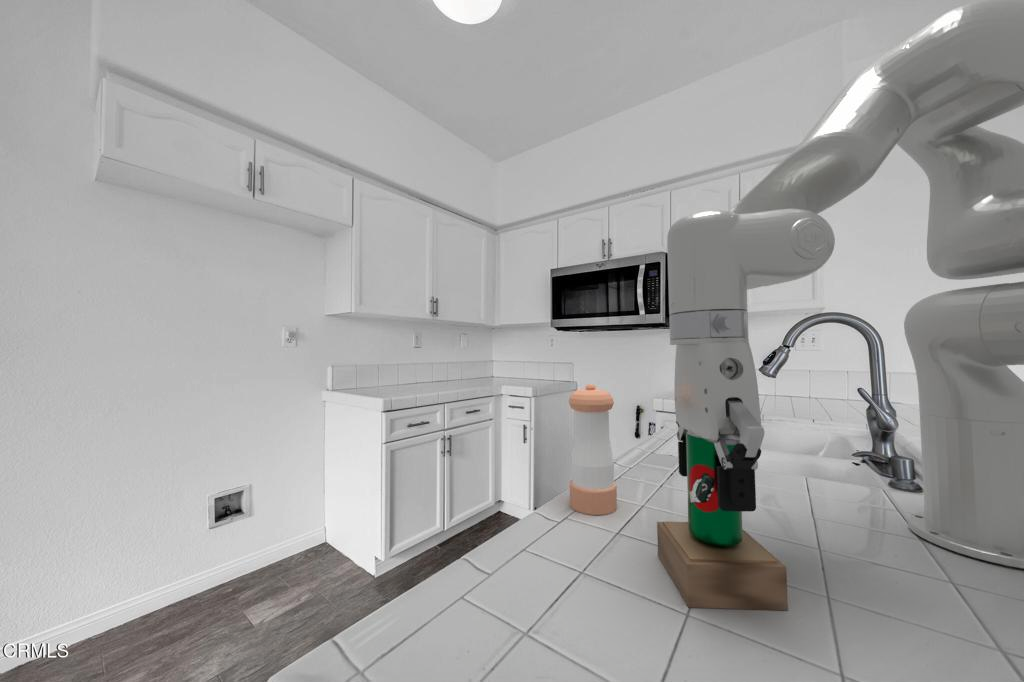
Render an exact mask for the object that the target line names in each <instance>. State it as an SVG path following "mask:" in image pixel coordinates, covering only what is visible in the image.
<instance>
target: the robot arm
mask: <svg viewBox="0 0 1024 682" xmlns="http://www.w3.org/2000/svg"><path fill="white" fill-rule="evenodd" d="M1023 106H1024V0H979V1H974V2H970V3H967V4H963V5H961V6H958V7H955V8H953V9H952V10H949V11H948V12H947V11H946V12H945V13H944V14H942V15H940V16H939V17H937V18H936V19H934V20H933V21H931V22H930V23H929V24H926V26H925V27H923V28H922V29H920V30H919V31H917V32H915V33H913V34H912V35H911V36H909V37H908V38H907V39H905V40H904V41H902V42H901V43H899V44H898V45H896V46H895V47H893V48H892V49H891V50H889V51H888V52H886V53H884V54H883V55H882V56H880V57H879V58H878V59H876V60H874V61H873V62H871V63H870V64H868V65H867V66H866V67H864V68H863V69H862V70H861V71H859V73H857V74H855V76H853V78H851V80H849V81H848V83H847V84H846V85H845V86H844V87H843V88H842V90H840V92H839V93H838V95H837V96H836V98H834V100H833V101H832V102H831V103H830V105H829V106H828V107H827V109H826V110H825V111H824V113H823V115H821V117H819V119H818V121H816V123H815V125H814V126H813V127H812V128H811V130H809V132H807V134H806V136H805V137H804V138H803V139H802V141H801V142H800V143H799V144H798V146H797V147H795V149H793V151H792V152H790V154H789V155H787V156H786V157H785V158H783V159H782V161H780V162H779V163H778V164H777V165H776V166H775V167H774V168H773V169H772V170H771V171H770V172H769V173H768V174H767V175H766V176H765V177H764V178H763V179H761V180H760V182H758V183H757V184H756V185H755V186H754V187H753V188H752V189H751V190H749V191H748V192H747V193H746V194H745V195H744V196H743V197H742V198H741V199H740V200H739V201H738V202H737V203H736V204H735V205H734V206H733V207H732V208H731V209H730V210H706V211H701V212H699V211H698V212H696V213H693V214H692V213H691V214H689V215H686V216H684V217H683V216H682V218H679V219H678V220H676V221H675V222H674V223H673V224H672V225H671V226H670V228H669V229H668V232H667V236H666V237H667V239H666V241H667V243H666V244H667V245H666V246H667V247H666V248H667V251H666V252H667V280H668V283H667V284H668V285H667V286H668V314H669V318H668V319H669V345H672V346H676V347H675V360H674V361H675V362H674V363H675V364H674V410H675V411H674V413H675V420H676V421H675V424H676V425H677V433H676V438H677V451H678V473H679V475H680V476H682V477H687V449H686V433H687V431H688V430H691V431H692V432H693V433H694V434H696V435H698V436H699V437H701V438H703V439H704V440H706V441H709V442H712V443H714V446H715V448H716V451H717V454H718V457H719V460H720V463H721V465H722V466H717V495H718V507H719V508H720V509H721V510H723V511H742V512H754V511H756V509H757V494H756V470H757V469H758V467H759V462H758V459H760V457H761V454H762V449H761V447H762V444H763V440H764V437H765V429H764V427H763V425H762V419H761V418H762V417H761V415H762V414H761V406H760V397H759V396H760V394H759V388H758V387H759V385H758V378H757V373H756V372H757V371H756V366H755V361H754V357H753V352H752V348H751V345H750V342H749V341H750V340H749V339H750V338H749V318H748V316H749V315H748V314H749V312H748V290H753V289H758V288H761V287H770V286H774V285H779V284H784V283H789V282H792V281H797V280H800V279H802V278H805V277H807V276H810V275H811V274H813V273H815V272H817V271H818V270H820V269H821V268H822V267H824V265H825V264H826V263H827V262H828V261H829V260H830V258H831V256H832V254H833V252H834V249H835V246H836V245H835V243H836V238H835V233H834V231H833V228H832V226H831V225H830V224H829V222H828V220H826V219H825V218H824V217H822V216H821V215H820V213H822V212H824V211H826V210H827V209H829V208H831V207H833V206H835V205H836V204H837V203H839V202H841V201H843V200H844V199H845V198H847V197H848V196H850V195H851V194H853V193H855V191H857V190H859V189H860V188H861V187H863V186H864V185H865V184H867V183H868V182H869V181H870V179H872V178H873V176H875V174H876V173H877V171H878V170H879V168H881V165H882V164H883V163H884V162H885V160H886V158H887V157H889V154H890V153H891V152H892V150H893V149H894V148H895V147H896V145H897V146H898V147H899V148H900V149H902V151H904V152H905V153H906V154H907V155H908V156H909V157H910V158H911V159H913V161H914V162H915V163H917V165H918V166H919V167H920V168H921V169H922V170H923V172H924V173H925V175H926V177H927V180H928V183H929V205H928V222H927V236H926V260H927V261H926V262H927V265H928V267H929V269H930V270H931V272H932V273H933V274H935V275H937V277H940V278H943V279H946V280H959V281H961V280H962V281H963V280H964V281H965V280H975V279H984V278H992V277H993V278H994V277H1001V276H1008V275H1016V274H1022V273H1024V143H1023V142H1022V141H1019V140H1018V139H1015V138H1012V137H1010V136H1006V135H1004V134H1000V133H997V132H993V131H990V130H987V129H985V128H983V127H982V126H979V125H981V124H983V123H985V122H988V121H990V120H993V119H996V118H997V117H999V116H1001V115H1004V114H1007V113H1010V112H1011V111H1014V110H1016V109H1018V108H1021V107H1023ZM903 330H904V336H905V339H906V343H907V345H908V348H909V351H910V354H911V357H912V360H913V364H914V370H915V375H916V381H917V390H918V406H919V426H920V428H919V429H920V447H921V464H922V465H921V466H922V467H921V468H922V484H923V487H922V488H923V489H922V490H923V503H924V504H923V505H924V507H923V508H924V512H919V513H914V514H911V515H909V516H908V518H907V525H908V528H909V529H910V531H912V532H913V533H914V534H915V535H917V536H919V537H921V539H924V540H925V541H928V542H930V543H931V544H935V545H937V546H939V547H941V548H944V549H947V550H949V551H952V552H954V553H957V554H960V555H964V556H968V557H971V558H974V559H977V560H981V561H984V562H989V563H992V564H993V563H994V564H997V565H1000V566H1001V565H1002V566H1005V567H1006V566H1007V567H1010V568H1011V567H1013V568H1017V569H1023V570H1024V381H1023V380H1022V379H1021V377H1019V376H1018V375H1017V374H1016V373H1014V371H1013V370H1011V368H1010V367H1009V366H1017V365H1018V366H1024V281H1017V282H1011V283H1010V282H1007V283H1006V282H1005V283H1004V282H1003V283H997V284H988V285H982V286H973V287H965V288H957V289H952V290H947V291H943V292H939V293H935V294H932V295H929V296H927V297H924V298H922V299H921V300H919V301H917V302H916V303H915V304H913V305H912V306H911V307H910V308H909V309H908V311H907V313H906V315H905V318H904V320H903ZM734 433H735V434H734ZM726 445H735V446H734V447H733V449H732V450H731V452H730V453H729V451H728V448H727V446H726Z"/></svg>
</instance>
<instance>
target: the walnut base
mask: <svg viewBox="0 0 1024 682" xmlns="http://www.w3.org/2000/svg"><path fill="white" fill-rule="evenodd" d="M656 528H657V529H656V533H657V556H658V559H659V560H660V561H661V564H662V565H663V567H664V568H665V570H666V573H667V574H668V575H669V577H670V579H671V580H672V582H673V583H674V585H675V587H676V588H677V591H678V592H679V594H680V596H681V597H682V599H683V601H684V602H685V604H686V607H688V608H694V609H695V608H696V609H697V608H699V609H701V608H702V609H724V610H725V609H729V610H731V609H733V610H756V611H757V610H760V611H761V610H762V611H789V606H788V605H789V604H788V581H787V580H788V576H787V575H788V573H787V571H788V570H787V566H786V565H785V564H784V563H782V561H780V560H779V559H778V558H777V557H776V556H774V554H772V553H771V552H770V551H769V550H768V549H766V548H765V547H764V546H763V545H762V544H760V542H758V541H757V540H756V539H755V538H754V537H752V536H751V535H750V534H749V533H748V532H747V531H745V530H744V529H743V528H742V541H741V543H740V544H738V545H737V546H736V547H734V548H727V549H723V548H715V547H711V546H708V545H705V544H703V543H701V542H699V541H698V540H696V539H695V538H694V537H693V536H692V534H691V533H690V531H689V529H688V521H656Z"/></svg>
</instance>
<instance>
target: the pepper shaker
mask: <svg viewBox="0 0 1024 682" xmlns="http://www.w3.org/2000/svg"><path fill="white" fill-rule="evenodd" d="M610 393H611V392H610ZM610 393H609V392H607V391H606V390H603V389H598V388H597V386H596V385H595V384H594V383H593V384H592V383H589V384H586V386H585V389H583V388H582V389H578V390H575V391H574V392H572V393H571V395H570V396H569V400H568V403H569V407H570V409H571V410H573V430H574V431H573V434H574V435H573V444H572V450H571V458H570V459H571V460H570V461H571V462H570V463H571V467H570V468H571V480H570V481H569V505H570V507H571V509H572V510H574V511H576V512H577V513H581V514H584V515H589V516H603V515H604V516H605V515H611V514H612V513H615V511H617V508H618V499H617V496H618V494H617V493H618V492H617V487H618V486H617V484H616V482H615V461H614V460H615V459H614V456H613V450H612V444H611V439H610V438H611V437H610V414H609V413H610V412H609V411H611V410H612V409H613V406H614V403H615V402H614V398H613V396H612V395H611V394H610Z"/></svg>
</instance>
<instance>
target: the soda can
mask: <svg viewBox="0 0 1024 682" xmlns="http://www.w3.org/2000/svg"><path fill="white" fill-rule="evenodd" d="M734 434H735V433H734ZM726 446H727V448H728V451H729V453H730V452H731V450H732V449H733V447H734V446H735V445H726ZM686 449H687V476H686V480H687V481H686V482H687V490H686V491H687V520H688V521H687V522H688V529H689V531H690V533H691V534H692V536H693V537H694V538H695V539H696V540H698V541H699V542H701V543H703V544H705V545H708V546H711V547H715V548H723V549H727V548H734V547H736V546H737V545H738V544H740V543H741V541H742V529H743V513H742V512H743V511H723V510H721V509H720V508H719V507H718V495H717V466H722V465H721V463H720V460H719V457H718V454H717V451H716V448H715V446H714V443H712V442H709V441H706V440H704V439H703V438H701V437H699V436H698V435H696V434H694V433H693V432H692V431H691V430H688V431H687V433H686Z"/></svg>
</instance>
